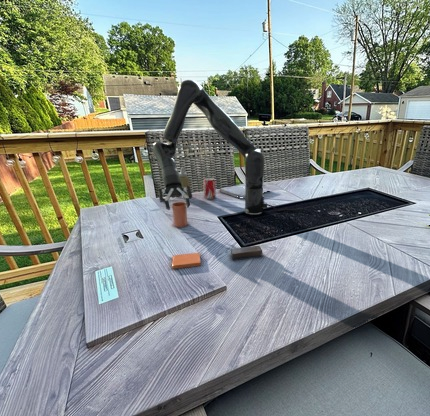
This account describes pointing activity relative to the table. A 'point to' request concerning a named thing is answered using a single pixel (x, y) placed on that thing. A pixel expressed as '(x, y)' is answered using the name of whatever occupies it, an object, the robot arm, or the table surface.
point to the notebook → (234, 191)
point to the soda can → (209, 188)
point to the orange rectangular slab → (186, 260)
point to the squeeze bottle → (184, 179)
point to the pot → (179, 214)
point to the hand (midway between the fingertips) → (178, 208)
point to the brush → (246, 252)
